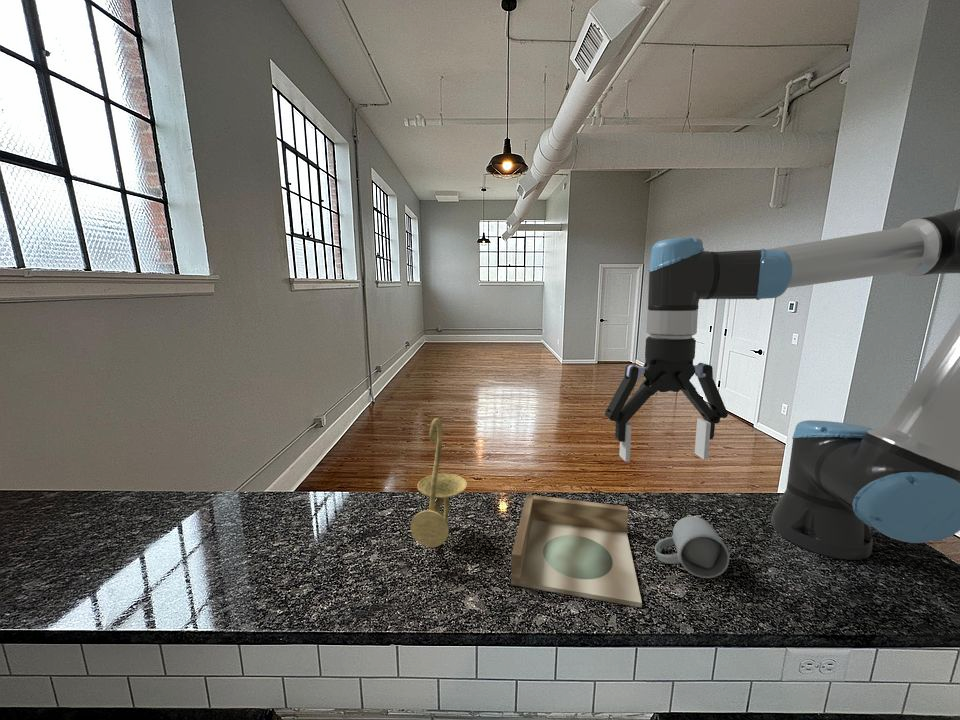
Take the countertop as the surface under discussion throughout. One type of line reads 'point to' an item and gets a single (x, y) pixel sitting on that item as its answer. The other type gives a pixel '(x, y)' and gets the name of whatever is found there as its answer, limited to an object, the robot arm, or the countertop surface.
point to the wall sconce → (430, 523)
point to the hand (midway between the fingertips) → (662, 457)
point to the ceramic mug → (696, 548)
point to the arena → (575, 550)
